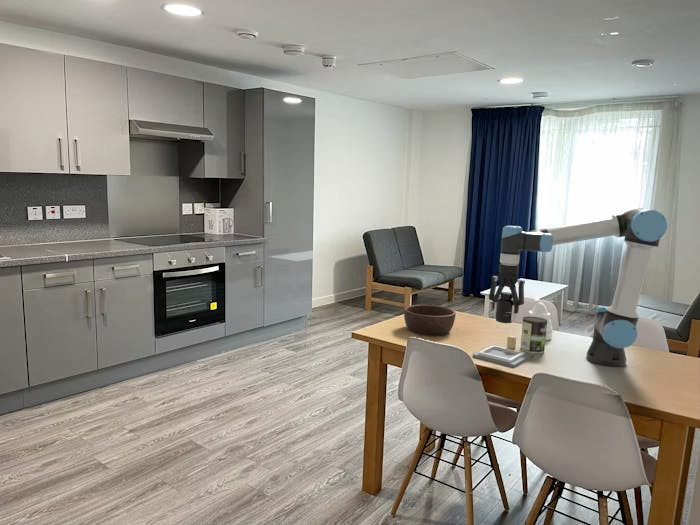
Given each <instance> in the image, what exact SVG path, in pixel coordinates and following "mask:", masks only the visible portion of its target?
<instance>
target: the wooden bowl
mask: <svg viewBox="0 0 700 525" xmlns="http://www.w3.org/2000/svg"><path fill="white" fill-rule="evenodd" d="M456 315H457V314H456V311H455V310H454V309H452V308H448V307H446V306H440V305H435V304H414V305H413V304H412V305H408V306H406V307H404V308H403V317H404V322H405V326H406V328H407V330H409V331H410V332H411V333H414V334H417V335H422V336H431V337H432V336H433V337H435V336H445V335H448V334H449V333H450V332H451V331H452V329H453V327H454V324H455V319H456Z"/></svg>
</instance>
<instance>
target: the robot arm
mask: <svg viewBox="0 0 700 525" xmlns="http://www.w3.org/2000/svg"><path fill="white" fill-rule="evenodd" d="M667 229H668V222H667V219H666V217H665V216H664V214H663V213H662V212H661V211H658V210H656V209H653V208H644V207H643V208H642V207H637V208H634V209H630V210H627V211H623V212H618V213H614V214H612V215H611V216H610V217H606V218H600V219H594V220H593V219H592V220H587V221H583V222H582V221H581V222H576V223H570V224H565V225H564V224H563V225H558V226H552V227H547V228H542V229H532V230H530V231H523V227H521V226H519V225H505V226H504V227H502V233H501V240H500V241H501V243H500V245H501V246H500V257H499V263H500V264H499V268H498V275H493V276H491V284H490V289H489V290H490V291H489V294H488V300H490V301H492V310H493V318H494V319H496V311H497V301H498V299H500V298H501V297H500V295H501V292H503V290H504V288H505V287H507V288H509V290H510V293H511V294H512V300H513V302H514V305H513V306H512V315H511V321H512V323H514V322H515V321H516V317H517V314H518V313H519V310H520V309H519V308H520V306H522V305H524V303H525V293H524V292H525V289H524V287H525V283H526V280H522V279H519V270H520V269H519V268H520V266H519V264H520V256H521V255H520V254H521V251H528V252H541V253H550V252H552V250H553V246H558V245H563V244H569V243H576V242H582V241H589V240H590V241H591V240H594V239H600V238H602V239H603V238H607V237H613V236H614V237H616V238H624V240H623V242H624V243H625V245H626V250H625V252H624V257H623V260H622V265H621V268H620V273H619V276H618V279H617V283H616V287H615V291H614V294H613V299H612V302H611V305H610V306H603V305H601V306H600V305H599V306H597V307H596V308H595V309H596V310H595V312H594V314H595V316H594V323H593V324H594V325H593V332H592V340H591V344H590V345H589V347H588V350H587V351H586V356H585V357H586V360H588V361H590V362H592V363H594V364H598V365H603V366H607V367H625V366H626V365H627V354H626V352H625V351H626V350H625V349H626V348H629V347H630V346H632V345H634V343H635V342H636V341H637V339H638V329H637V324H638V321H639V319H640V318H639V314H638V313H637V307H638V304H639V301H640V296H641V293H642V291H643V290H642V289H643V287H644V282H645V279H646V274H647V272H648V271H647V270H648V268H649V264H650V260H651V256H652V253H653V251H654V250H656V249H658V248H659V244H660V240H661V238H663V236H664V235H665V234H666V232H667ZM498 281H499V285H498V287H497V283H498ZM516 284H517V286H518V290H517V286H516ZM496 289H497V290H496ZM517 291H518V292H517Z"/></svg>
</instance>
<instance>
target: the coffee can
mask: <svg viewBox="0 0 700 525" xmlns="http://www.w3.org/2000/svg"><path fill="white" fill-rule="evenodd" d="M547 322H548V321H547V320H546V319H544V318H540V317H530V316H529V315H528V316H524V317H522V328H521V337H520V338H521V339H520V348H519V349H520V351H523V352H524V351H525V352H527V353H532V354H534V355H535V354H537V355H538V354H541V355H542V354H544V353H545V348H546V340H545V339H546V329H547Z"/></svg>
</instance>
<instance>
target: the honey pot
mask: <svg viewBox="0 0 700 525" xmlns="http://www.w3.org/2000/svg"><path fill="white" fill-rule="evenodd" d="M540 301H541V300H540V299H536V298H534V299H533V302H534V303H535V304H536V305H534V307H533V308H532V310H531V309H530V310H528V314H529V315H528V317H529V316H530V317H540V318H544V319H546V320H547V321H548V322H547V329H546V339H545V341H550V340H552V339H553V325H552V320H551V313H550V312H549V311H548V309H547V307H546V305H545V304H544V303H543V302H540ZM551 338H552V339H551ZM549 339H550V340H549Z"/></svg>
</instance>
